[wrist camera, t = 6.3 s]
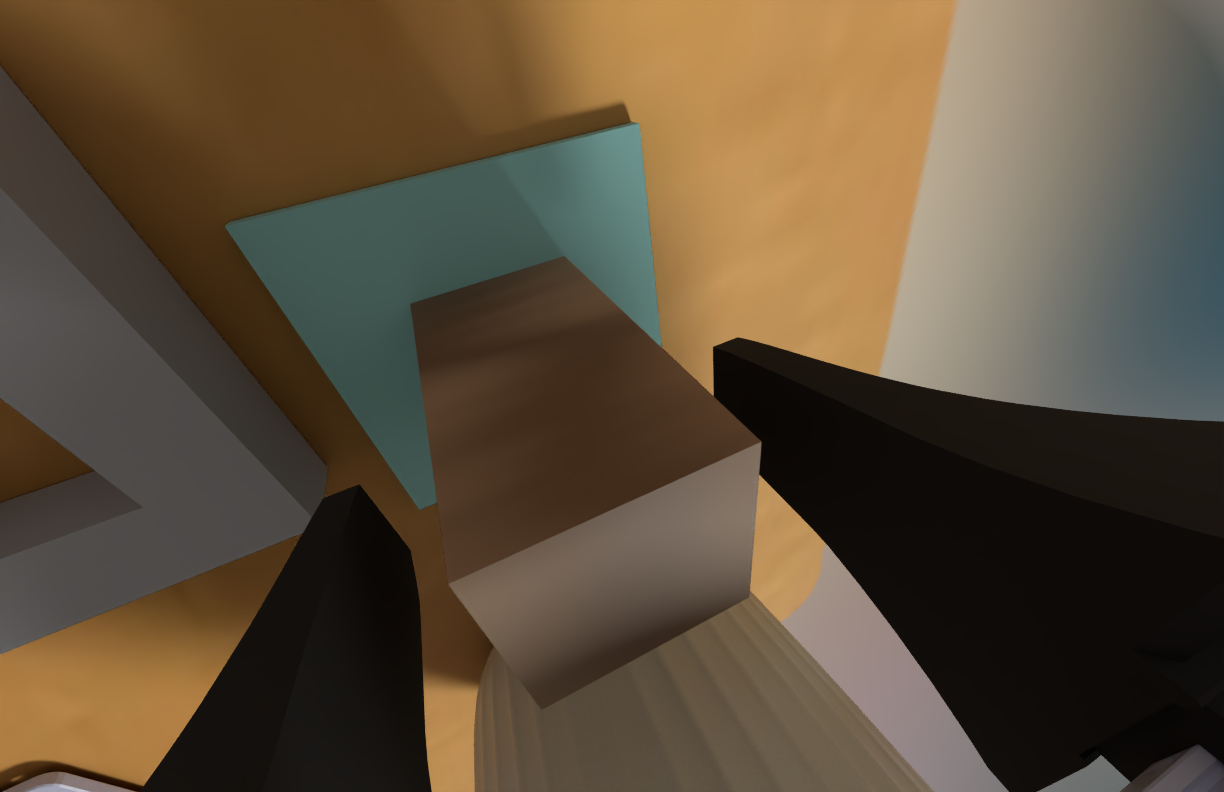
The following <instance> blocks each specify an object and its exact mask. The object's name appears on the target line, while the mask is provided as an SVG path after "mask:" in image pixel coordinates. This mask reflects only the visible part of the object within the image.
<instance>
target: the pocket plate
mask: <svg viewBox="0 0 1224 792" xmlns="http://www.w3.org/2000/svg"><path fill="white" fill-rule="evenodd" d="M0 398H1V399H2V400H3V401H4V402H6V403H7V404H8V405H10V406H11V407H12V408H14V409H15V410H16V411H18V412H19V413H20V414H21V415H23V416H24V417H25V418H27V419H28V420H29V421H31V422H32V423H33V424H35V425H36V426H37V427H38V428H40V429H41V430H42V431H44V432H45V433H46V434H48V435H49V436H50V437H52V438H53V439H54V440H55V441H57V442H58V443H59V444H61V445H62V446H63V447H65V448H66V449H67V450H69V451H70V452H71V453H72V454H74V455H75V456H76V457H78V458H79V459H80V460H82V461H83V462H84V463H86V464H87V465H88V466H89V467H91V468H92V469H93V470H95V471H93V472H90V473H87V474H84V475H81V476H78V477H75V478H72V479H69V480H66V481H63V482H60V483H57V484H54V485H51V486H48V487H45V488H42V489H39V490H36V491H34V492H31V493H28V494H25V495H22V496H19V497H16V498H13V499H10V500H7V501H4V502H1V503H0V654H2V653H5V652H7V651H10V650H12V649H15V648H17V647H20V646H22V645H25V644H27V643H30V642H32V641H35V640H37V639H40V638H42V637H45V636H47V635H50V634H52V633H54V632H57V631H59V630H62V629H64V628H67V627H69V626H72V625H74V624H77V623H79V622H82V621H84V620H87V619H89V618H92V617H94V616H97V615H99V614H102V613H104V612H107V611H109V610H112V609H114V608H117V607H119V606H122V605H124V604H127V603H129V602H132V601H134V600H137V599H139V598H142V597H144V596H147V595H149V594H152V593H154V592H157V591H159V590H162V589H164V588H167V587H169V586H172V585H174V584H177V583H179V582H182V581H184V580H187V579H189V578H192V577H194V576H197V575H199V574H202V573H204V572H207V571H209V570H212V569H214V568H217V567H219V566H222V565H224V564H227V563H229V562H232V561H234V560H237V559H239V558H242V557H244V556H247V555H249V554H252V553H254V552H257V551H259V550H262V549H264V548H267V547H269V546H272V545H274V544H277V543H279V542H282V541H284V540H287V539H289V538H292V537H294V536H297V535H299V534H302V533H303V532H304V530H305V529H306V527H307V525H308V523H309V521H310V520H311V518H312V516H313V514H314V513H315V511H316V509H317V508H318V506H319V504H320V503H321V501H322V499H323V498H324V496H325V488H326V481H327V473H328V467H327V466H326V465H325V463H324V462H323V461H322V460H321V458H320V457H319V456H318V455H317V454H316V452H315V451H314V450H313V449H312V447H311V446H310V445H309V444H308V442H307V441H306V440H305V439H304V438H303V436H302V435H301V434H300V433H299V431H298V430H297V429H296V428H295V427H294V425H293V424H292V423H291V422H290V420H289V419H288V418H287V417H286V416H285V414H284V413H283V412H282V411H281V409H280V408H279V407H278V406H277V404H276V403H275V402H274V401H273V400H272V398H271V397H270V396H269V395H268V393H267V392H266V391H265V390H264V389H263V387H262V386H261V385H260V384H259V382H258V381H257V380H256V379H255V378H254V376H253V375H252V374H251V373H250V371H249V370H248V369H247V368H246V366H245V365H244V364H243V363H242V362H241V360H240V359H239V358H238V357H237V355H236V354H235V353H234V352H233V351H232V349H231V348H230V347H229V346H228V344H227V343H226V342H225V341H224V339H223V338H222V337H221V336H220V335H219V333H218V332H217V331H216V330H215V328H214V327H213V326H212V325H211V324H210V322H209V321H208V320H207V319H206V317H205V316H204V315H203V314H202V313H201V311H200V310H199V309H198V308H197V306H196V305H195V304H194V303H193V301H192V300H191V299H190V298H189V297H188V295H187V294H186V293H185V292H184V290H183V289H182V288H181V287H180V286H179V284H178V283H177V282H176V281H175V279H174V278H173V277H172V276H171V274H170V273H169V272H168V271H167V270H166V268H165V267H164V266H163V265H162V263H161V262H160V261H159V260H158V259H157V257H156V256H155V255H154V254H153V252H152V251H151V250H150V249H149V248H148V246H147V245H146V244H145V243H144V241H143V240H142V239H141V238H140V236H139V235H138V234H137V233H136V232H135V230H134V229H133V228H132V227H131V225H130V224H129V223H128V222H127V221H126V219H125V218H124V217H123V216H122V214H121V213H120V212H119V211H118V210H117V208H116V207H115V206H114V205H113V203H112V202H111V201H110V200H109V198H108V197H107V196H106V195H105V194H104V192H103V191H102V190H101V189H100V187H99V186H98V185H97V184H96V183H95V181H94V180H93V179H92V178H91V176H90V175H89V174H88V173H87V171H86V170H85V169H84V168H83V167H82V165H81V164H80V163H79V162H78V160H77V159H76V158H75V157H74V156H73V154H72V153H71V152H70V151H69V149H68V148H67V147H66V146H65V145H64V143H63V142H62V141H61V140H60V138H59V137H58V136H57V135H56V133H55V132H54V131H53V130H52V129H51V127H50V126H49V125H48V124H47V122H46V121H45V120H44V119H43V118H42V116H41V115H40V114H39V113H38V111H37V110H36V109H35V108H34V106H33V105H32V104H31V103H30V102H29V100H28V99H27V98H26V97H25V95H24V94H23V93H22V92H21V91H20V89H19V88H18V87H17V86H16V84H15V83H14V82H13V81H12V80H11V78H10V77H9V76H8V75H7V73H6V72H5V71H4V70H3V68H2V67H1V66H0Z"/></svg>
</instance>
